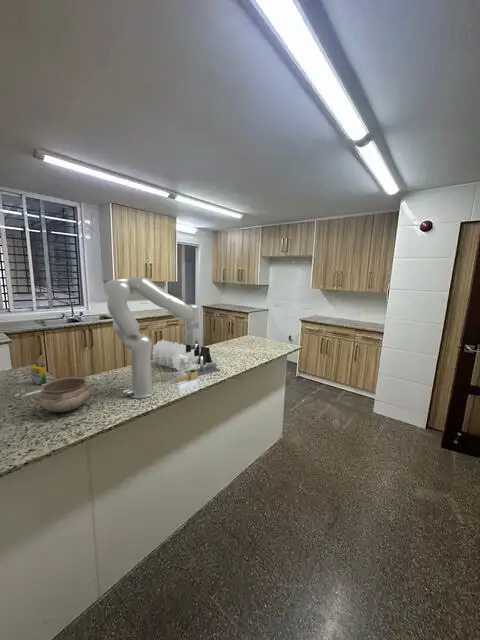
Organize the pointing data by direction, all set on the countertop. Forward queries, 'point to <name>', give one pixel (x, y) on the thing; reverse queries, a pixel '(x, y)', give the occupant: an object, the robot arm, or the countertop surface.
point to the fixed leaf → (209, 366)
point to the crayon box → (38, 374)
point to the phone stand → (205, 355)
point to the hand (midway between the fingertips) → (192, 354)
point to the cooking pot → (64, 394)
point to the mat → (205, 371)
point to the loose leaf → (189, 376)
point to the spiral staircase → (171, 355)
